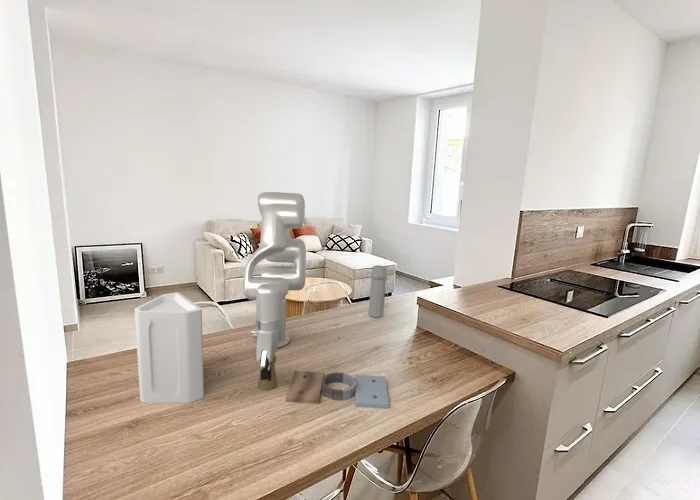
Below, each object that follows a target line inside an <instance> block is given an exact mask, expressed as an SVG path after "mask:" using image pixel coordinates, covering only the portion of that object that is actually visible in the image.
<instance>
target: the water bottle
mask: <svg viewBox="0 0 700 500" xmlns="http://www.w3.org/2000/svg"><path fill="white" fill-rule="evenodd" d="M388 279H389V277H388V276H387V267H386V266H384V265H379V264H378V265H373V266H372V270H371V277H370V291H369V292H370V293H369V304H368V315H369V316H370V317H371V318H375V317H376V318H382V316H384V308H388V305H389V302H387V304H386V305H385V302H386V299H385V297H387V299H389V293H388V292H389V291H388V282H387V281H388ZM386 292H387V293H386ZM386 294H387V295H386Z"/></svg>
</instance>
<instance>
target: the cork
mask: <svg viewBox="0 0 700 500" xmlns="http://www.w3.org/2000/svg"><path fill="white" fill-rule="evenodd" d="M266 360H269V359H266ZM276 361H277V356H276V354H275V355H274V357H273V359H272V361H271V362H270V369H271V381H269V380H268V379H267V380H264V379H263V381H261V368H260V371H259V375H258V376H259V377H258V382H257V388H258V389H259V390H260V391H268V392H269V391H273V390H274V389H276V388H277V386H278V383H277V382H278V381H277V374H276V366H275V365H274V363H276ZM259 364H260V365H261V359H260V361H259ZM266 364H267V365H268V363H267V362H266Z"/></svg>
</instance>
